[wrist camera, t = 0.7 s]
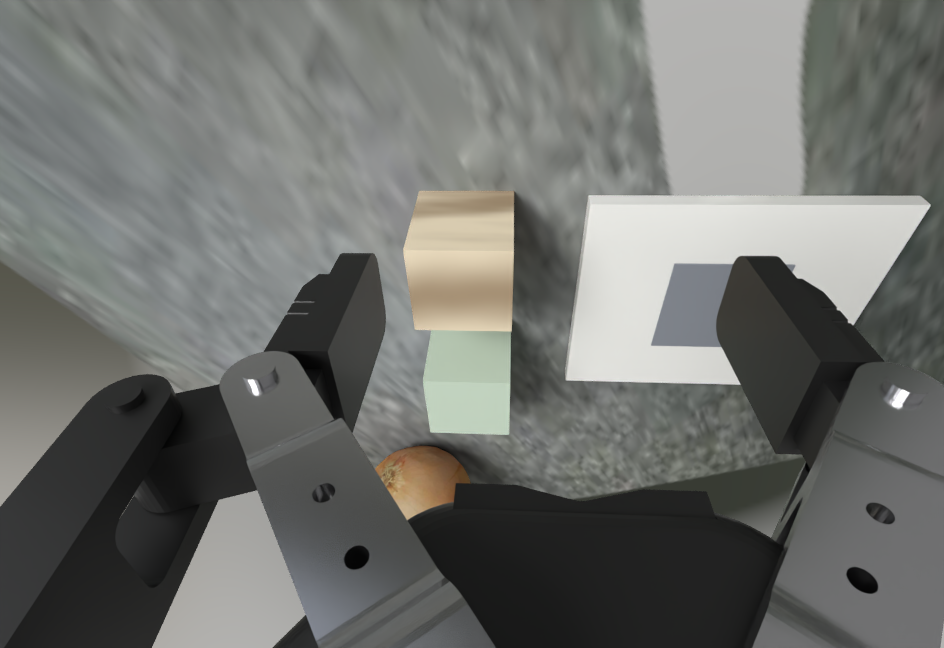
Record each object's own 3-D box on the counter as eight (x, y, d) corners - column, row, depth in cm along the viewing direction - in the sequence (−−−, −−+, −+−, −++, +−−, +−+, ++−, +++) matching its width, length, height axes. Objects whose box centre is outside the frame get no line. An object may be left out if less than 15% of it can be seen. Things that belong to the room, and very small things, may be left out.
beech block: (419, 190, 30) (403, 250, 26) (514, 190, 30) (513, 251, 25) (428, 266, 34) (415, 329, 30) (512, 267, 34) (511, 331, 29)
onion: (424, 410, 45) (407, 522, 37) (498, 461, 49) (495, 569, 42) (352, 448, 49) (324, 554, 42) (426, 491, 54) (412, 593, 47)
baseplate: (588, 195, 30) (590, 205, 29) (920, 195, 28) (932, 206, 28) (564, 370, 40) (565, 381, 39) (808, 376, 39) (814, 387, 38)
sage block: (433, 317, 37) (422, 381, 33) (510, 318, 37) (510, 383, 32) (439, 368, 41) (430, 432, 36) (509, 370, 40) (509, 434, 36)
